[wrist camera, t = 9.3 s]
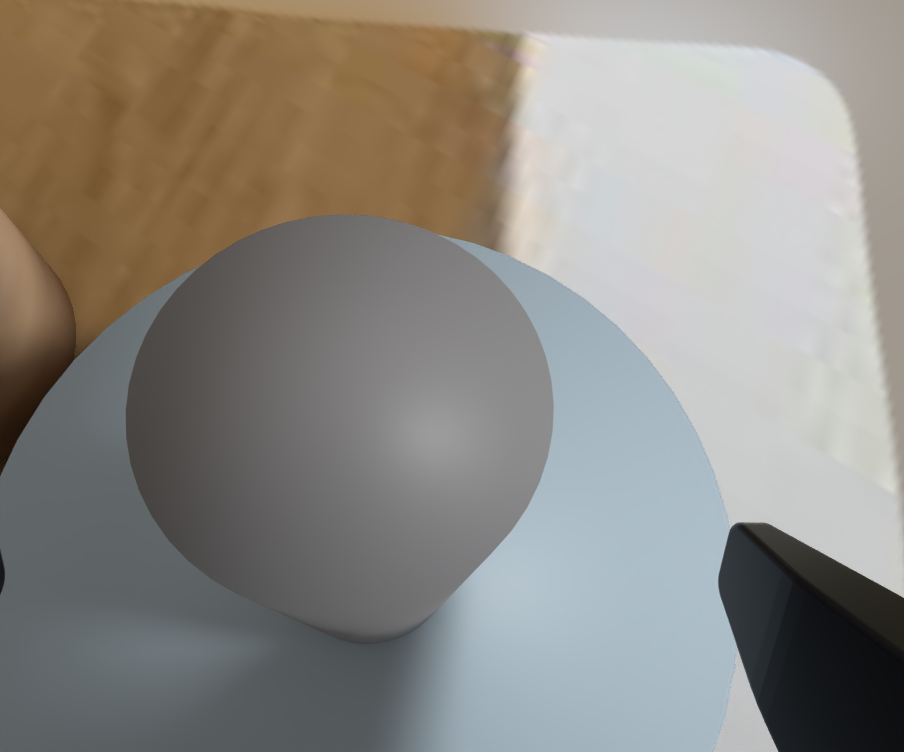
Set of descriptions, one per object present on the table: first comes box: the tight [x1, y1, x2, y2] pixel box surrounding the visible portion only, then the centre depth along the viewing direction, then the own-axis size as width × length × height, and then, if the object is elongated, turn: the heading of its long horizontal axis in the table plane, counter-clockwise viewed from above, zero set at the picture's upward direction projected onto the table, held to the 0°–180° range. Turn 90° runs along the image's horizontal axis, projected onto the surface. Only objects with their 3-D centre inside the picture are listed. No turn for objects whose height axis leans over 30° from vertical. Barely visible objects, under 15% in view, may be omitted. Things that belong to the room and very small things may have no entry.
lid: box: [0, 215, 736, 752], centre depth 9 cm, size 13×13×9 cm
